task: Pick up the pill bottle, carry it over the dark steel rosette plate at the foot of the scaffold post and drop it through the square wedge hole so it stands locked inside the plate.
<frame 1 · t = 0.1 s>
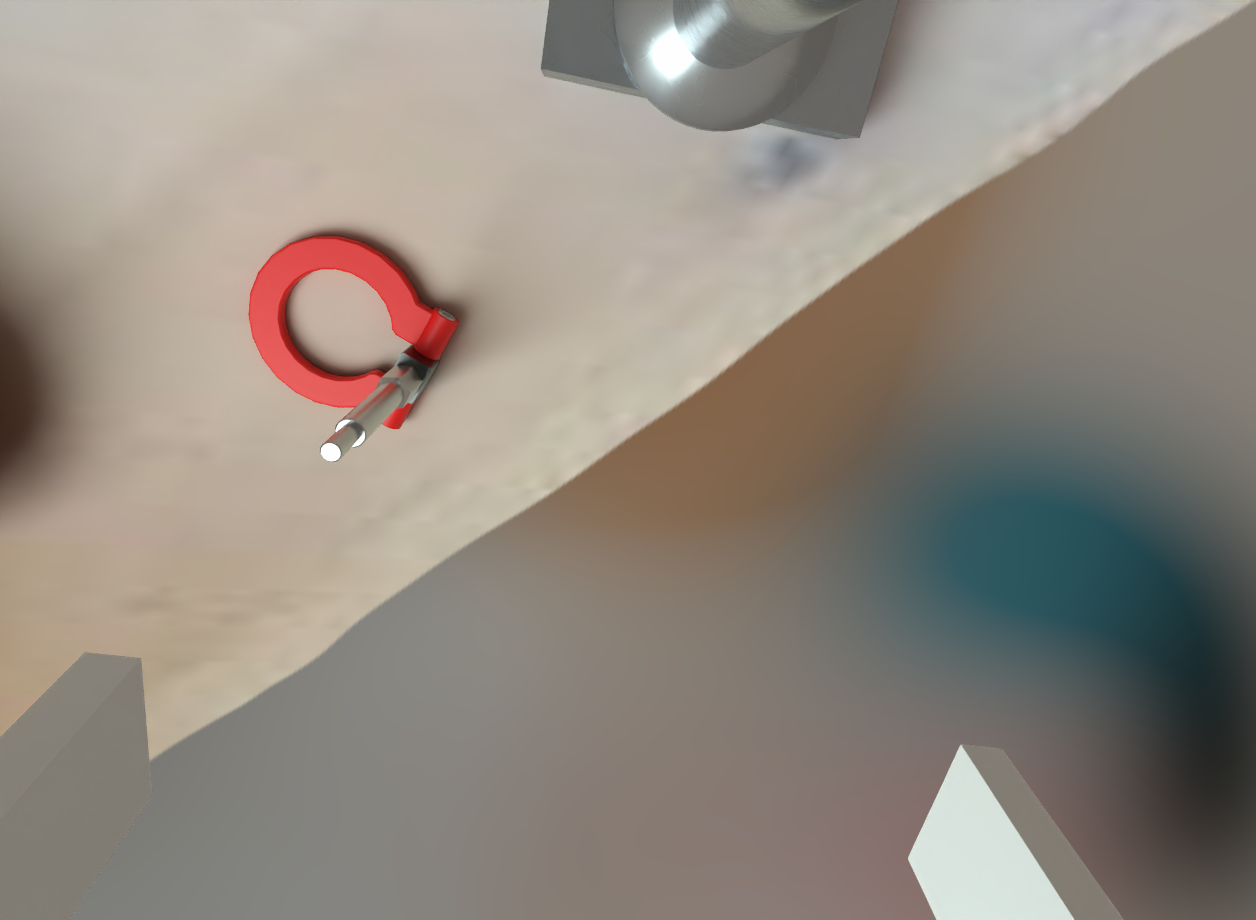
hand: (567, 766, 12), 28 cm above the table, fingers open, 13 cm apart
tow hook: (351, 326, 37), on the table
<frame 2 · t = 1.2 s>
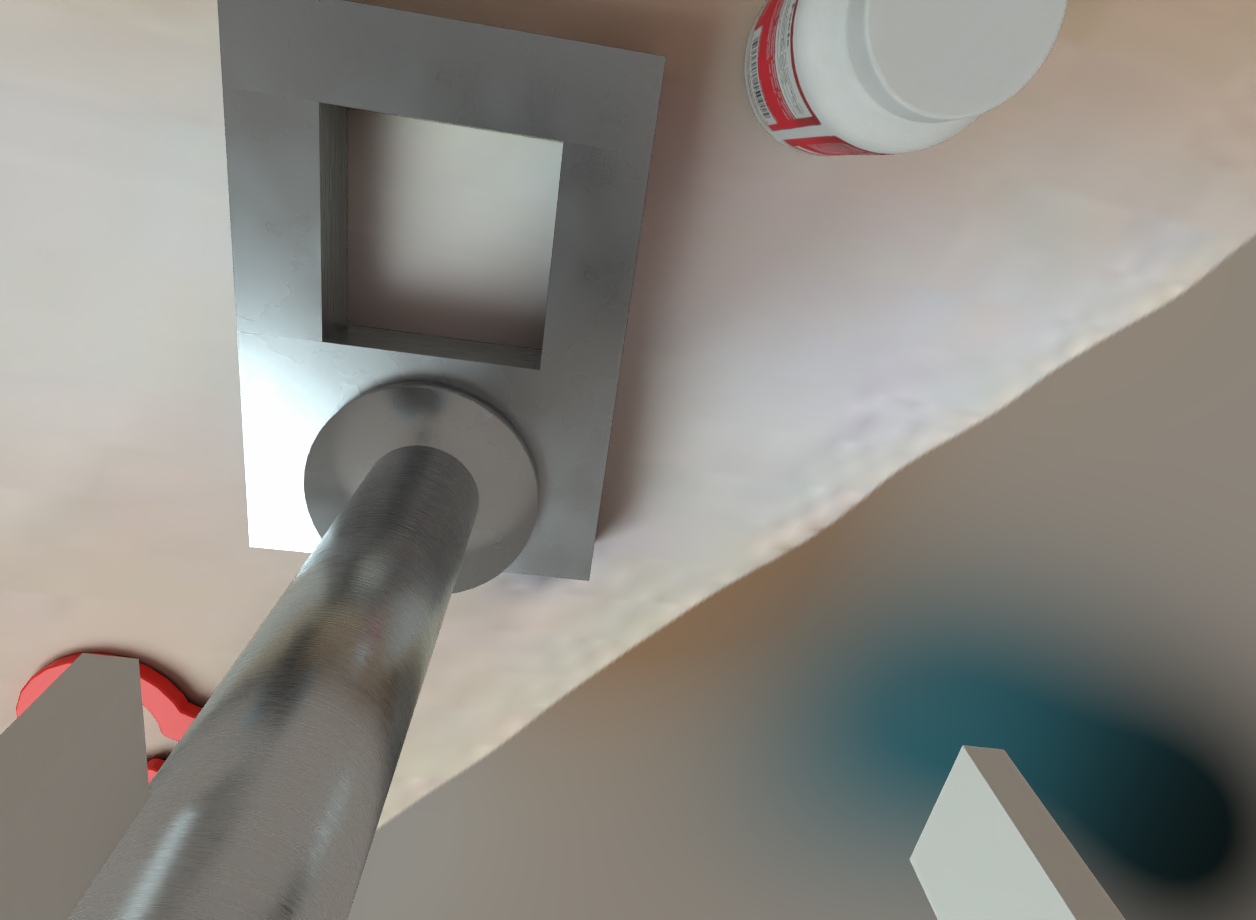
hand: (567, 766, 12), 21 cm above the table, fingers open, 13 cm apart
rosette post: (452, 237, 28), on the table
tow hook: (128, 719, 37), on the table
pill bottle: (821, 65, 27), on the table
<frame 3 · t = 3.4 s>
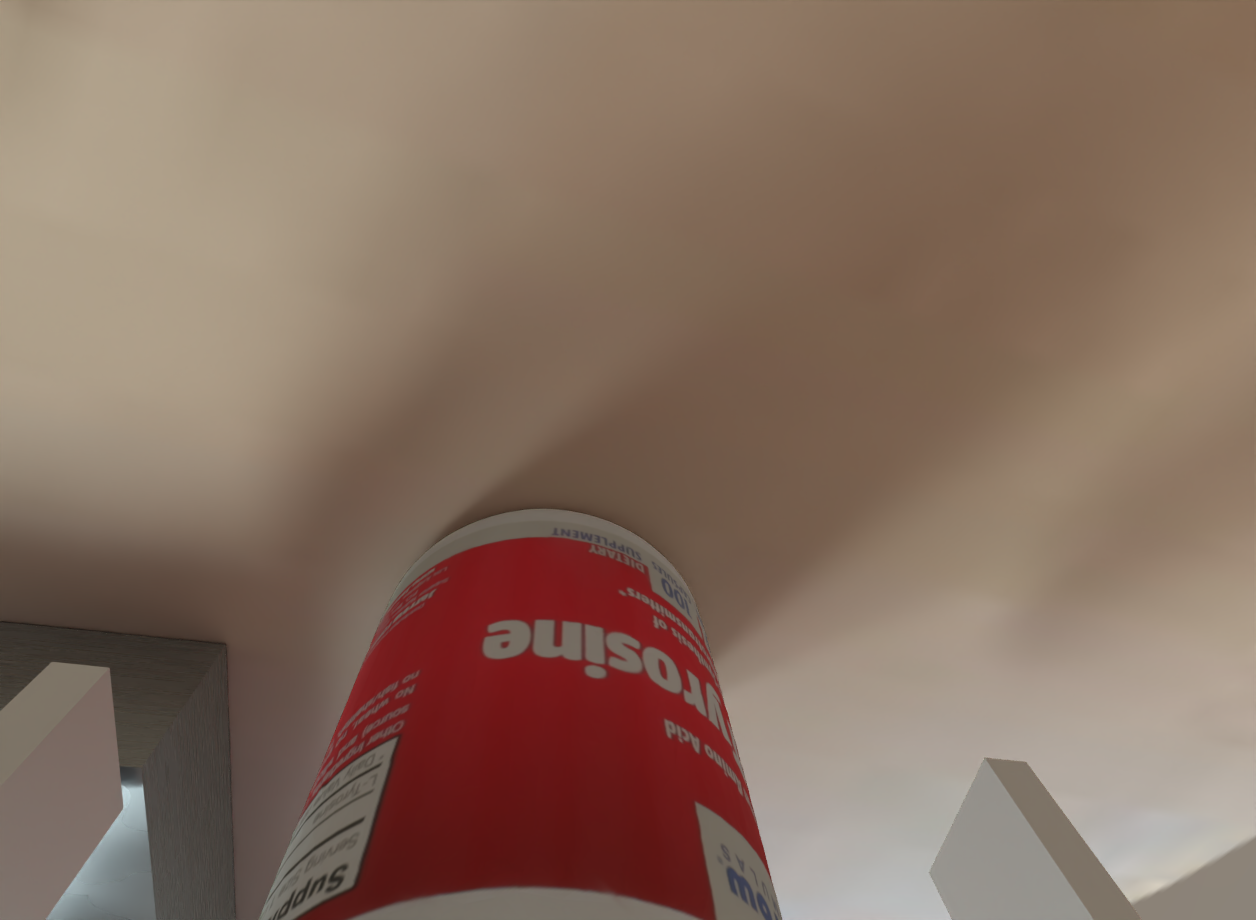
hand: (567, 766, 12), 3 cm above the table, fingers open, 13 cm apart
pill bottle: (544, 628, 15), on the table
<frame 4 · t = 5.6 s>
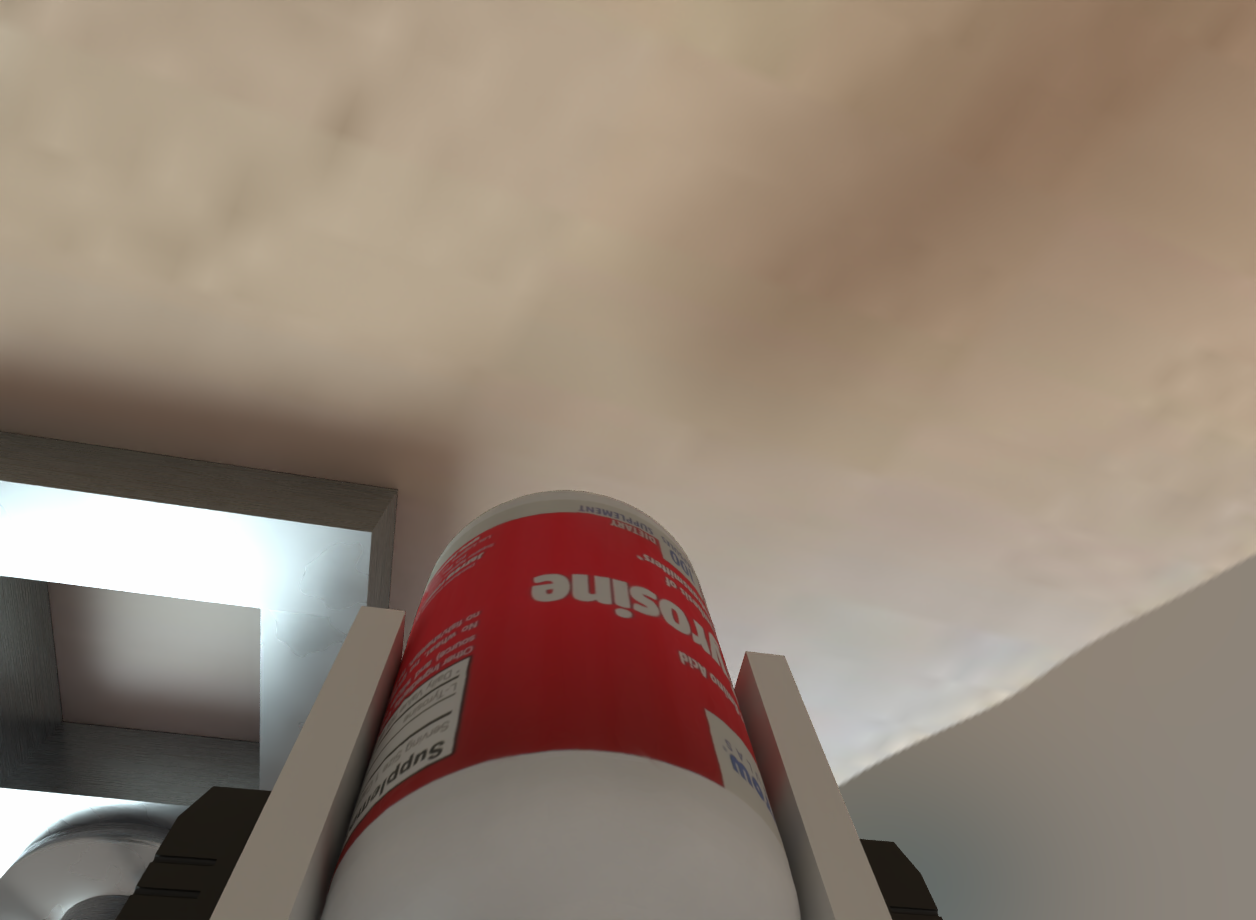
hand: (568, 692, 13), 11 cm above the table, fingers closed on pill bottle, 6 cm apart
rosette post: (176, 643, 25), on the table
pill bottle: (563, 597, 17), point 7 cm above the table, touching gripper
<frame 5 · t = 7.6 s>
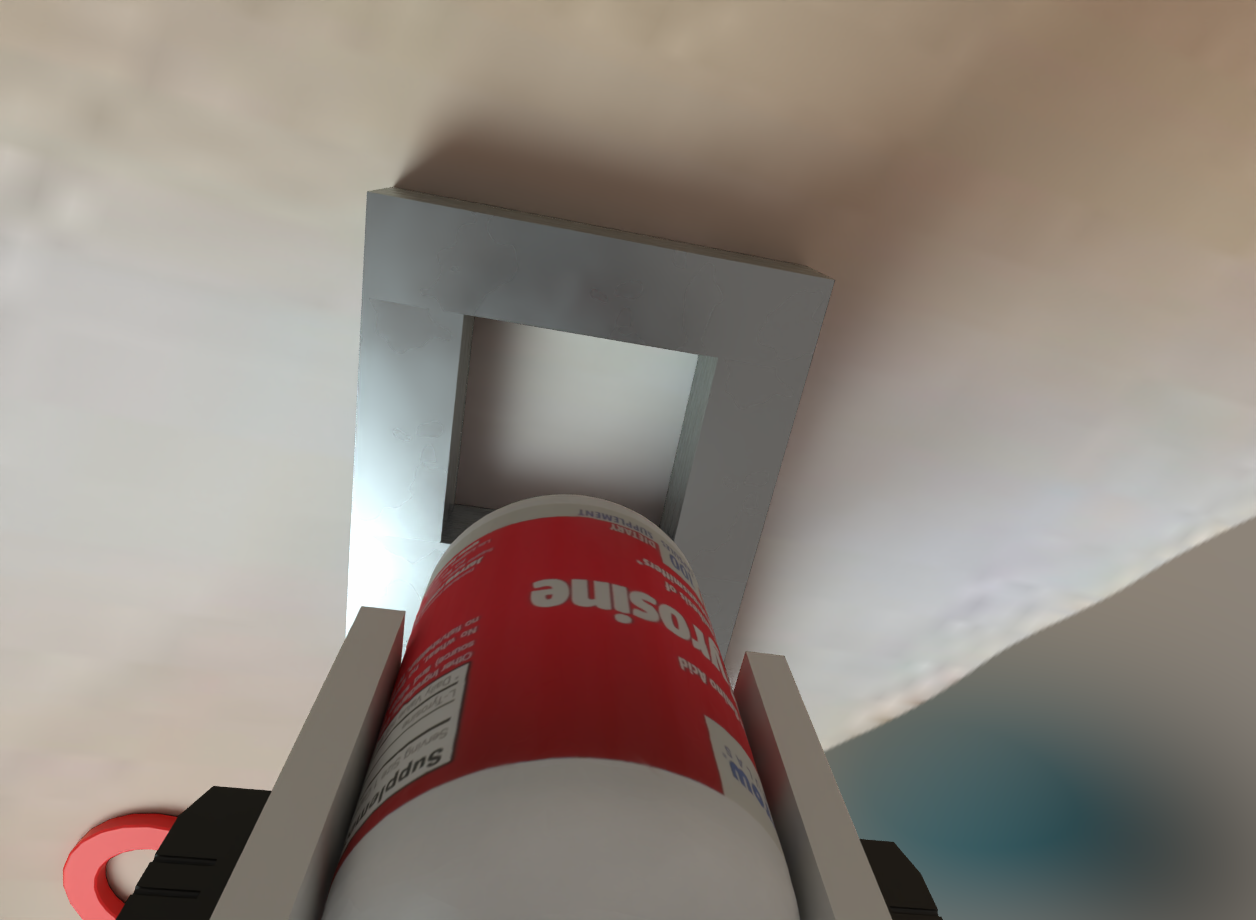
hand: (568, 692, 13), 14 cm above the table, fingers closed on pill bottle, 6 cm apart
rosette post: (574, 423, 27), on the table
tow hook: (179, 874, 35), on the table
pill bottle: (563, 601, 17), point 11 cm above the table, touching gripper
when the fingers open (4 cm above the table, at t = 10.0 s): pill bottle drops 1 cm, resting in rosette post.
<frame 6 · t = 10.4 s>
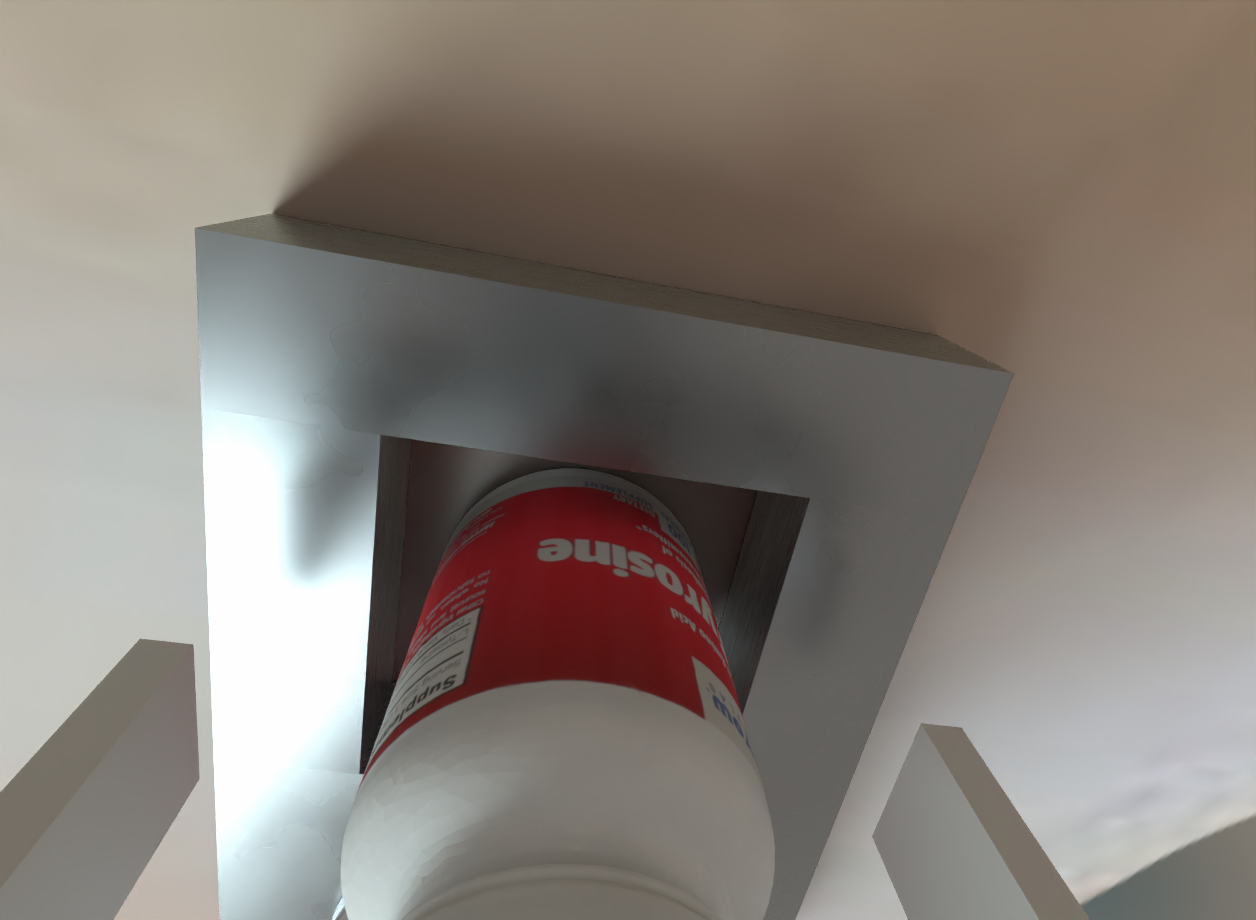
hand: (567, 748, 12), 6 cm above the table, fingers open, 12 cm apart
rosette post: (571, 568, 18), on the table
pill bottle: (570, 570, 18), resting in rosette post
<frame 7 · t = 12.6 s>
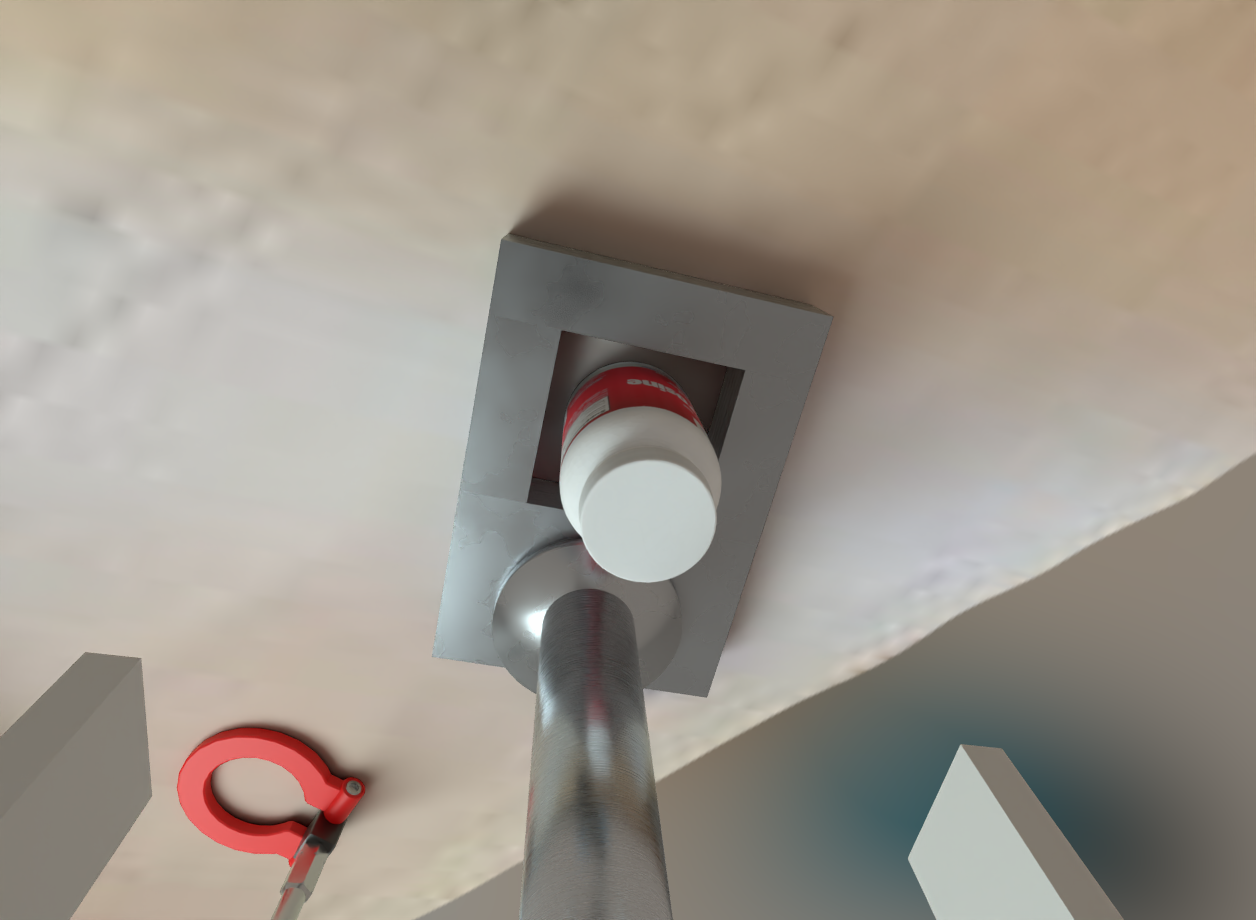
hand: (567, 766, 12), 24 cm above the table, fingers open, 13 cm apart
rosette post: (628, 417, 35), on the table
tow hook: (270, 785, 42), on the table
pill bottle: (627, 419, 35), resting in rosette post
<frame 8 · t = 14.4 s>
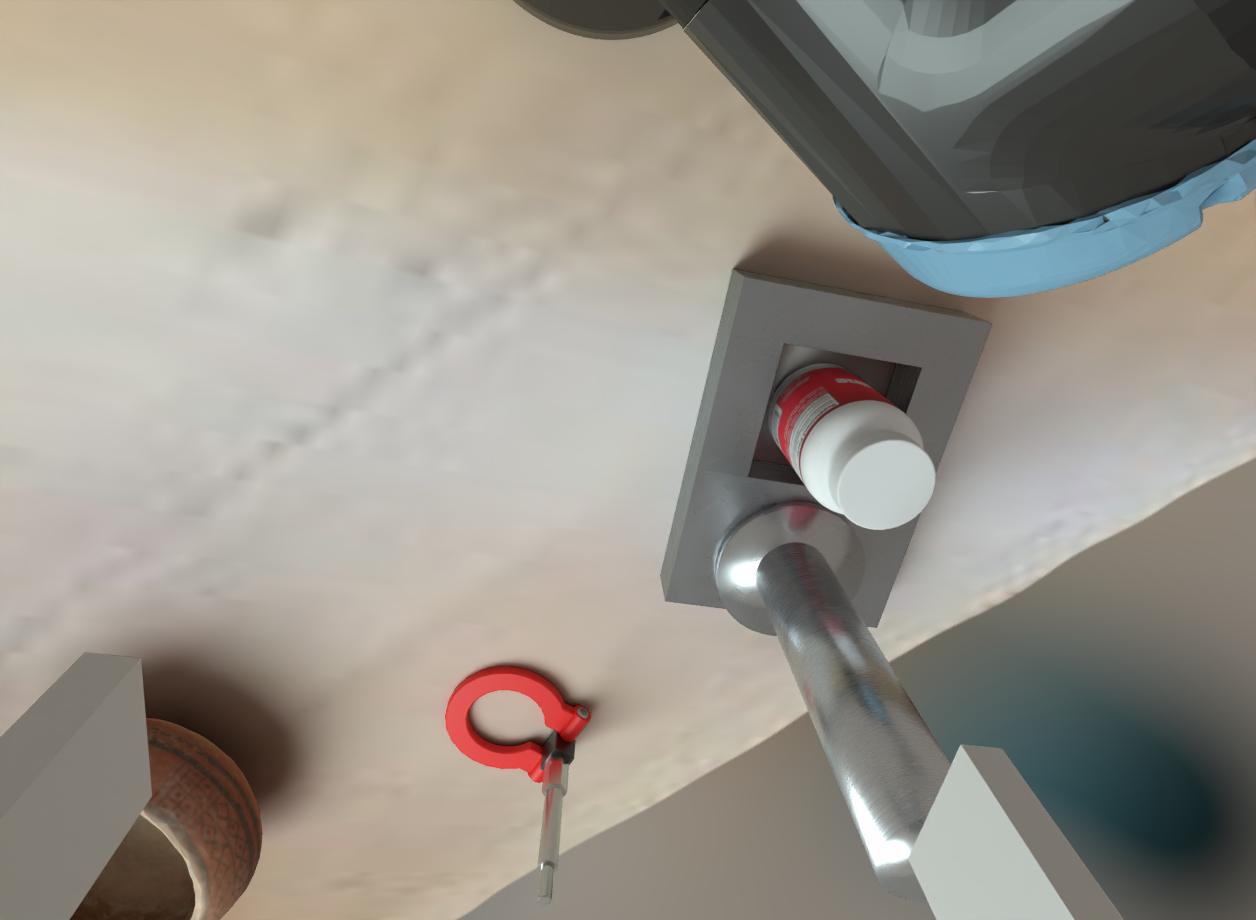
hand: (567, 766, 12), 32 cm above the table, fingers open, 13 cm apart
rosette post: (816, 406, 44), on the table
bowl: (177, 768, 52), on the table
tow hook: (512, 713, 52), on the table
pill bottle: (814, 408, 44), resting in rosette post
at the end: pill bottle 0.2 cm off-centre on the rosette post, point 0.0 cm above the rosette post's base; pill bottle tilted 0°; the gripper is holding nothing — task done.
